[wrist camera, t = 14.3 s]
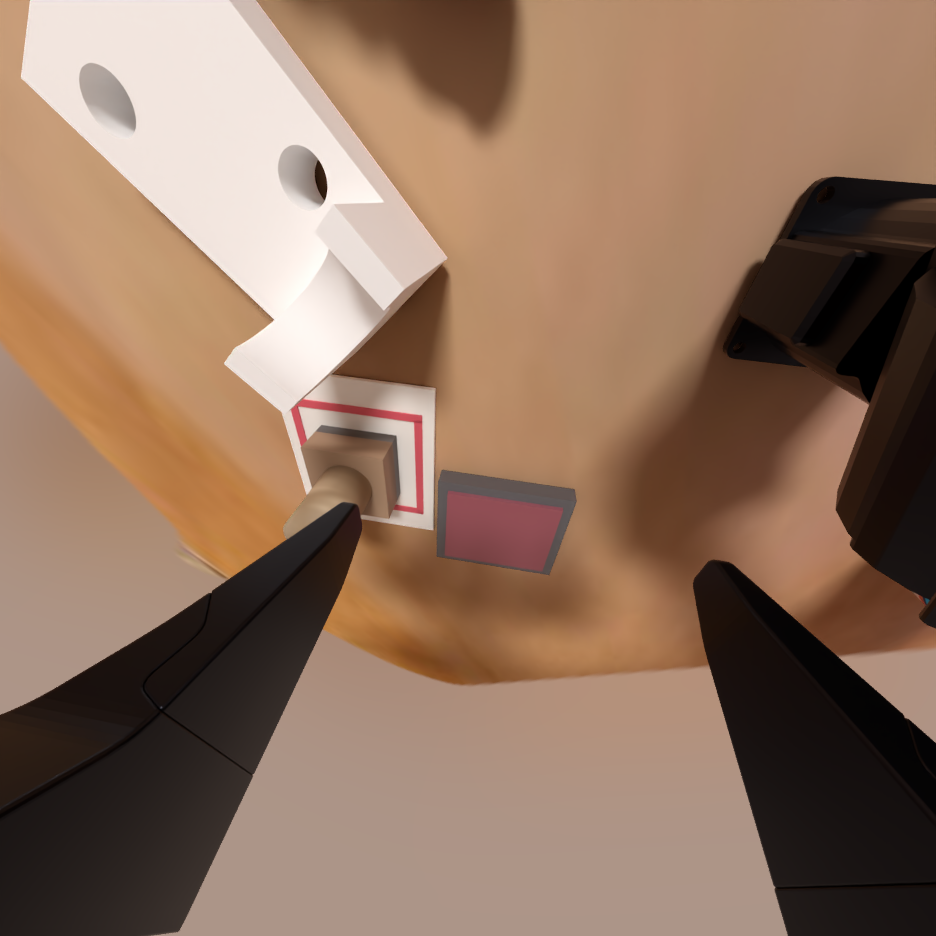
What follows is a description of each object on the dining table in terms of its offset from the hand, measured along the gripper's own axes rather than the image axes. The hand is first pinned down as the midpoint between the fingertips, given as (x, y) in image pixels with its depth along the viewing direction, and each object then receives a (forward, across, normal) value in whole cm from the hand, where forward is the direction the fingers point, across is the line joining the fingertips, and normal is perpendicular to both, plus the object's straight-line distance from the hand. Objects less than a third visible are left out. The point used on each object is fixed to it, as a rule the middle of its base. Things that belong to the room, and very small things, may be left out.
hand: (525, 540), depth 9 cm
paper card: (+12, +10, +8) cm, 18 cm away
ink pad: (+12, 0, +12) cm, 17 cm away
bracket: (+12, +12, -7) cm, 18 cm away
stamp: (+12, +10, +8) cm, 17 cm away
